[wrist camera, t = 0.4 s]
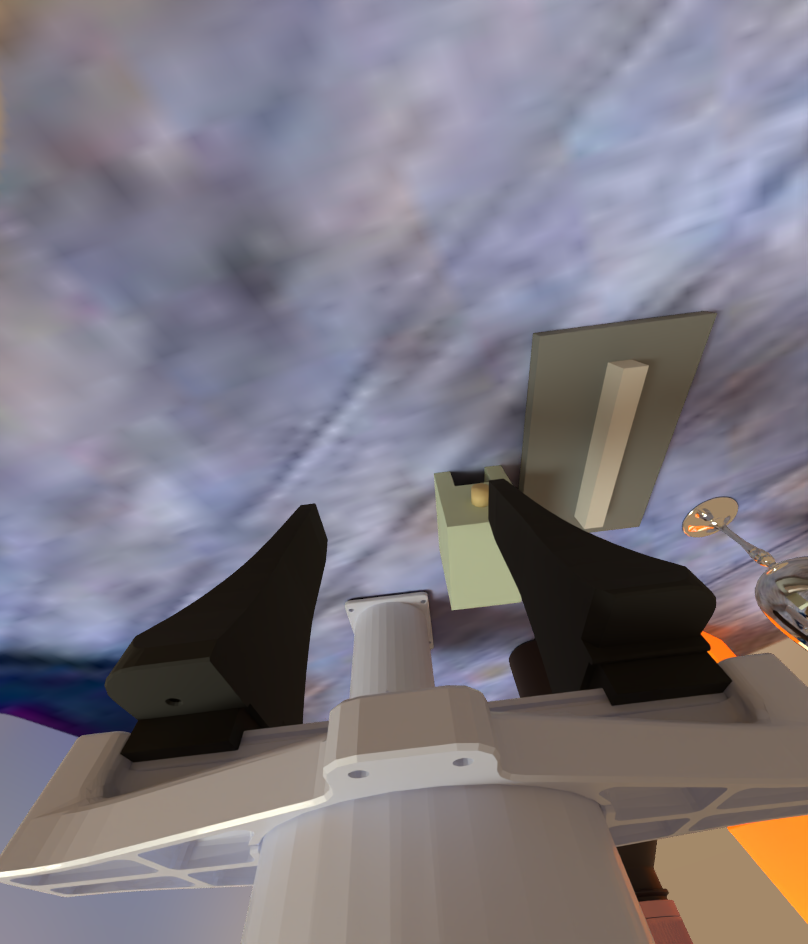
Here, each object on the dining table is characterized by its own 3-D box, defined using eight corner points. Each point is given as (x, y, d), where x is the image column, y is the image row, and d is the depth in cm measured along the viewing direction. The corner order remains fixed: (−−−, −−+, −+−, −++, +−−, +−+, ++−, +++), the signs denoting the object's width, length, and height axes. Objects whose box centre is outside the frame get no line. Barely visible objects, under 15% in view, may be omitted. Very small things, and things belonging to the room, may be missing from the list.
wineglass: (683, 497, 27) (870, 638, 16) (756, 484, 26) (993, 619, 16) (667, 547, 30) (816, 691, 19) (732, 535, 29) (919, 676, 19)
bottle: (509, 640, 36) (620, 963, 19) (569, 633, 36) (733, 951, 19) (505, 671, 40) (595, 966, 23) (560, 665, 40) (691, 956, 23)
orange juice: (722, 640, 39) (986, 925, 22) (659, 674, 43) (842, 940, 26) (685, 622, 36) (950, 928, 19) (622, 660, 40) (797, 945, 23)
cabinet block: (496, 542, 28) (520, 602, 23) (439, 549, 28) (451, 610, 23) (501, 453, 23) (533, 503, 18) (432, 461, 23) (446, 514, 18)
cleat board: (631, 518, 27) (651, 539, 25) (514, 532, 28) (525, 554, 25) (702, 311, 19) (742, 316, 17) (532, 333, 19) (551, 340, 17)
